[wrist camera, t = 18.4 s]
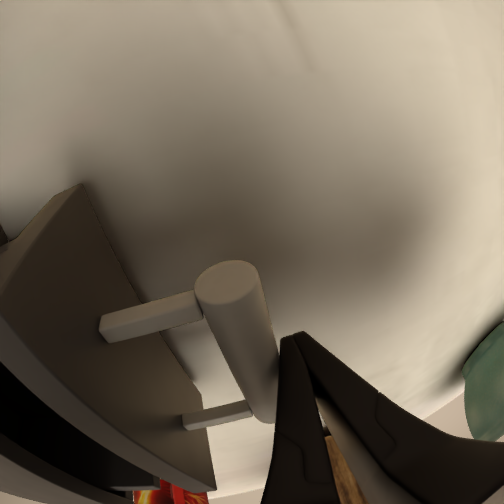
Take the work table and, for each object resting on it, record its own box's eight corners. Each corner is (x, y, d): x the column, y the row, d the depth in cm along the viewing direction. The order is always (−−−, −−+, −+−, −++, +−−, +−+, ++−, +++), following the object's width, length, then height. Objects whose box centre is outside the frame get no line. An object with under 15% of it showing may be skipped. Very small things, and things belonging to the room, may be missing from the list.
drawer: (214, 135, 8) (260, 214, 4) (278, 373, 15) (312, 467, 10) (-86, 283, 7) (-131, 357, 2) (31, 416, 14) (22, 485, 9)
